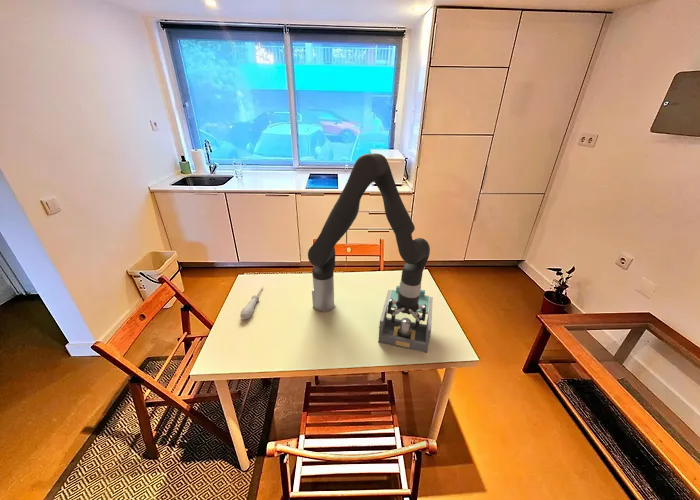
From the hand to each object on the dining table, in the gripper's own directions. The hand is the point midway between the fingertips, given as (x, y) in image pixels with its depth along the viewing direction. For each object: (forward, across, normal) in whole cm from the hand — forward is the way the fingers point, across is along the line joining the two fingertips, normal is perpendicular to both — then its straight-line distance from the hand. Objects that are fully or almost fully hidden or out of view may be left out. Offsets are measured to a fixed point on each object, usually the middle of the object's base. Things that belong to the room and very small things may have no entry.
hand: (404, 324), depth 112 cm
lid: (-3, 0, -11) cm, 11 cm away
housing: (+9, 0, -6) cm, 11 cm away
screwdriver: (+10, +70, -4) cm, 71 cm away
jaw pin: (+8, -1, 0) cm, 8 cm away
